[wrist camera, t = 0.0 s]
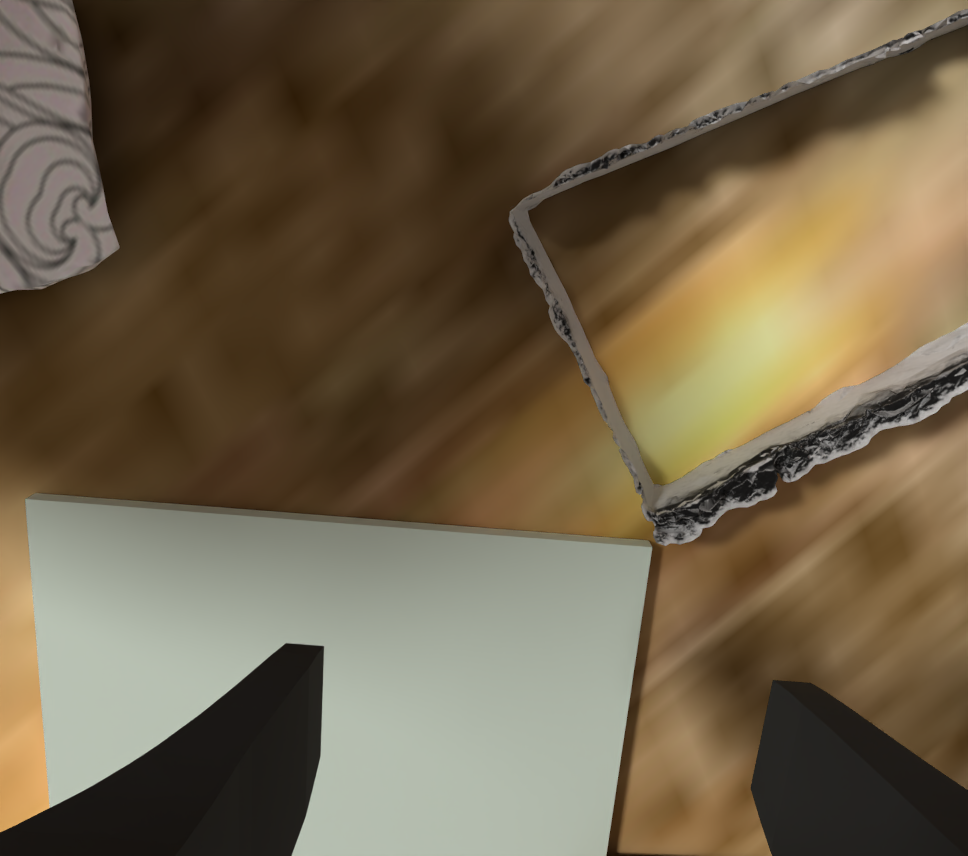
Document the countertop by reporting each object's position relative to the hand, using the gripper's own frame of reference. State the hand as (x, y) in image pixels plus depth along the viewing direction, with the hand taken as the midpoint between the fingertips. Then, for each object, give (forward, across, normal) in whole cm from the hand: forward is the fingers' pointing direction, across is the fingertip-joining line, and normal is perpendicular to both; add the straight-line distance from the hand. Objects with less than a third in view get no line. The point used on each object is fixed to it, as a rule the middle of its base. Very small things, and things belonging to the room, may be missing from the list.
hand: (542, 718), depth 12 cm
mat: (+10, +5, +10) cm, 15 cm away
